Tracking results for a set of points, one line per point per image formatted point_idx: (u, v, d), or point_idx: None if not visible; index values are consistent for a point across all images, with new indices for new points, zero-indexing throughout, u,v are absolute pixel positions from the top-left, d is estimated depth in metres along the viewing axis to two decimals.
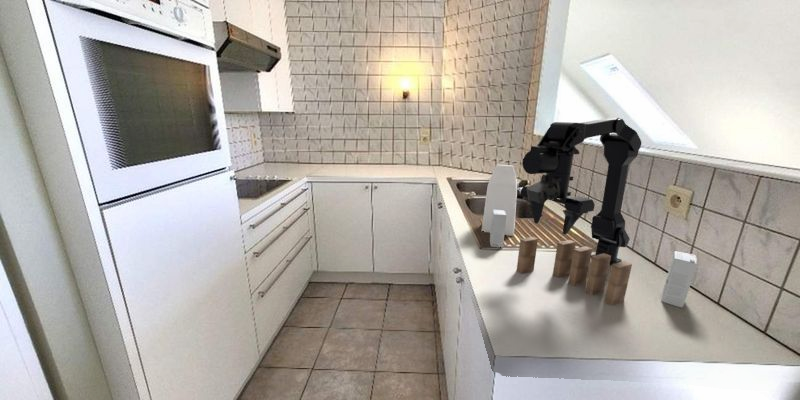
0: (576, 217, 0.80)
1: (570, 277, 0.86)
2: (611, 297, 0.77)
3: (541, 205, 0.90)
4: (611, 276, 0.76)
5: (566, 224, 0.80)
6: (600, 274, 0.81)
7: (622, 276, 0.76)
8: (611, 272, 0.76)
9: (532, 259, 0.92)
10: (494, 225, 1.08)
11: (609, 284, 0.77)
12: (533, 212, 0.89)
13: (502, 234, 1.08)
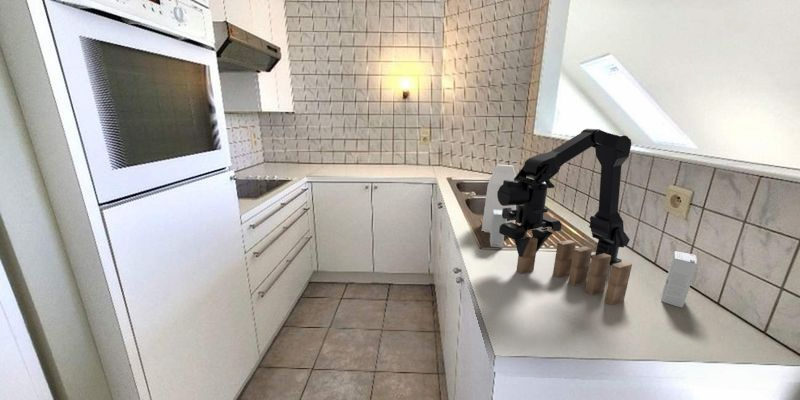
0: (521, 243, 0.88)
1: (570, 277, 0.86)
2: (611, 297, 0.77)
3: (540, 238, 0.91)
4: (611, 276, 0.76)
5: None
6: (600, 274, 0.81)
7: (622, 276, 0.76)
8: (611, 272, 0.76)
9: (532, 259, 0.92)
10: (494, 225, 1.08)
11: (609, 284, 0.77)
12: None
13: (502, 234, 1.08)
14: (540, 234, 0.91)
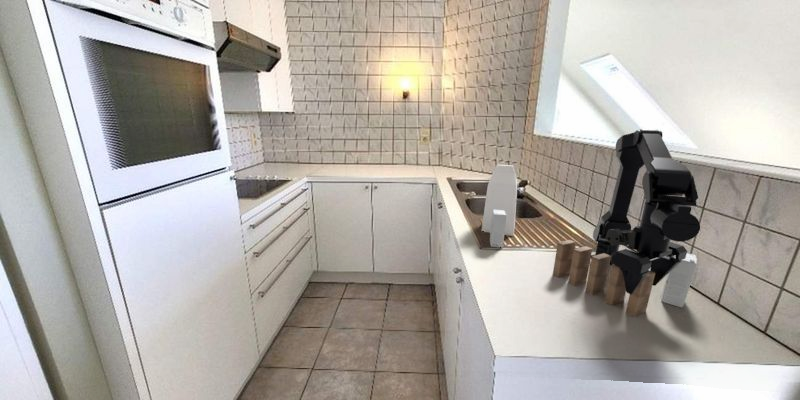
0: (635, 278, 0.68)
1: (570, 277, 0.86)
2: (611, 297, 0.77)
3: (664, 267, 0.72)
4: (611, 276, 0.76)
5: None
6: (600, 274, 0.81)
7: (622, 276, 0.76)
8: (611, 272, 0.76)
9: (646, 298, 0.73)
10: (494, 225, 1.08)
11: (609, 284, 0.77)
12: None
13: (502, 234, 1.08)
14: (664, 262, 0.72)
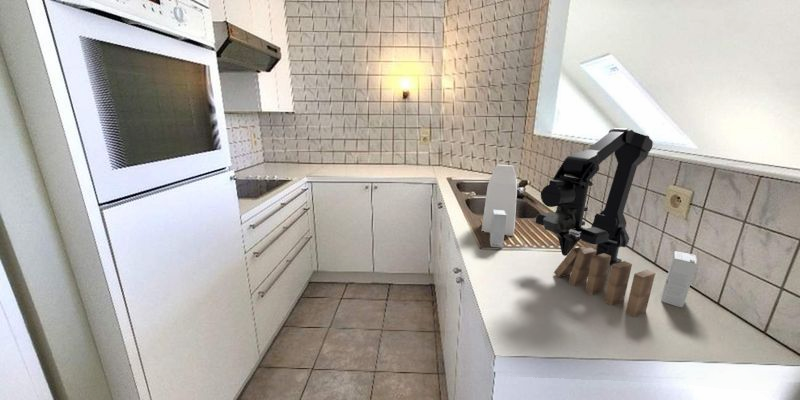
0: (575, 240, 0.88)
1: (571, 277, 0.86)
2: (611, 297, 0.77)
3: None
4: (611, 276, 0.76)
5: (566, 247, 0.88)
6: (600, 274, 0.81)
7: (622, 276, 0.76)
8: (611, 272, 0.76)
9: (646, 298, 0.73)
10: (494, 225, 1.08)
11: (609, 284, 0.77)
12: (561, 244, 0.89)
13: (502, 234, 1.08)
14: (568, 233, 0.89)
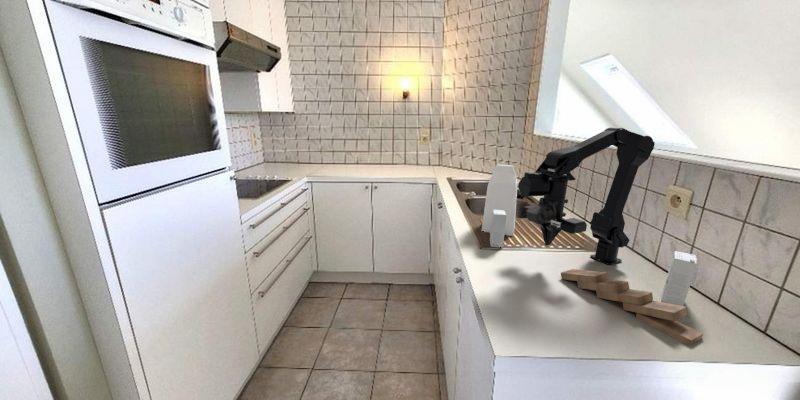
0: (557, 231, 0.93)
1: (583, 284, 0.83)
2: (633, 310, 0.73)
3: None
4: (658, 311, 0.68)
5: (548, 237, 0.94)
6: None
7: None
8: (663, 311, 0.67)
9: None
10: (494, 225, 1.08)
11: (646, 308, 0.70)
12: (544, 235, 0.95)
13: (502, 234, 1.08)
14: (550, 224, 0.95)
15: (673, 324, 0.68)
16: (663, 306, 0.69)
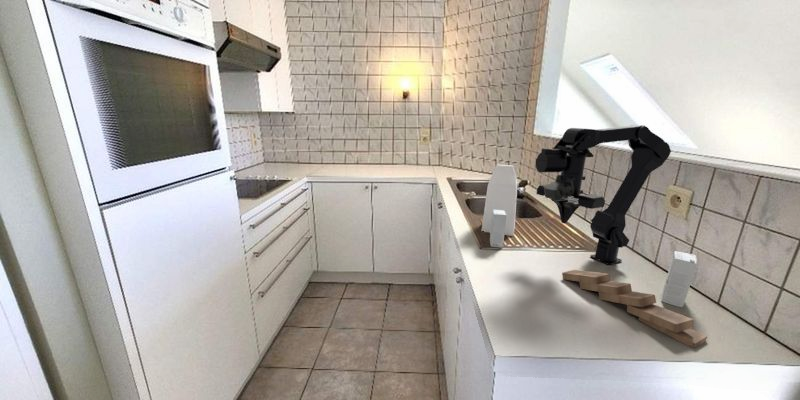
0: (574, 208, 0.94)
1: (585, 284, 0.83)
2: (636, 314, 0.71)
3: None
4: (660, 320, 0.66)
5: (565, 214, 0.94)
6: None
7: None
8: (665, 321, 0.65)
9: None
10: (494, 225, 1.08)
11: (649, 315, 0.68)
12: (560, 212, 0.95)
13: (502, 234, 1.08)
14: (567, 202, 0.95)
15: None
16: (668, 315, 0.67)
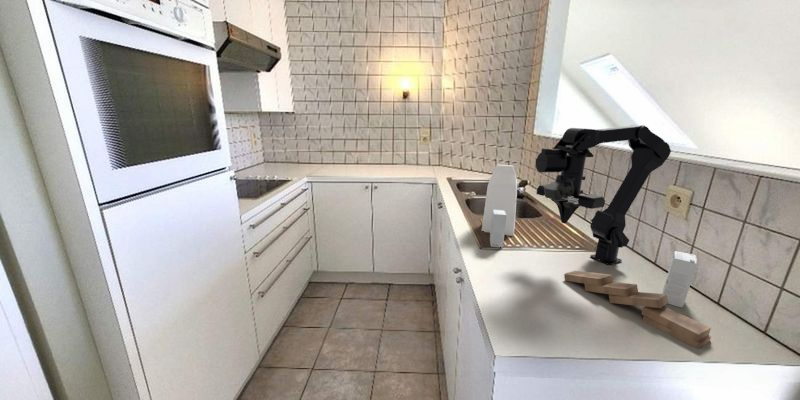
0: (574, 208, 0.94)
1: (591, 286, 0.81)
2: (651, 318, 0.70)
3: None
4: (680, 327, 0.65)
5: (565, 214, 0.94)
6: None
7: None
8: (686, 329, 0.64)
9: None
10: (494, 225, 1.08)
11: (668, 321, 0.67)
12: (560, 212, 0.95)
13: (502, 234, 1.08)
14: (567, 202, 0.95)
15: None
16: (686, 322, 0.66)
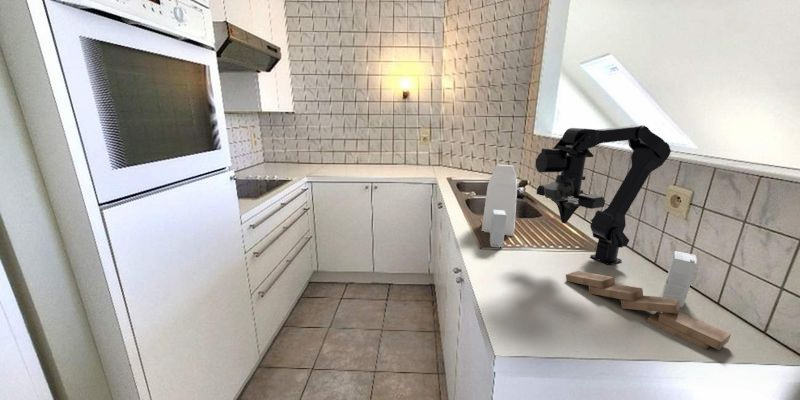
0: (574, 208, 0.94)
1: (595, 289, 0.80)
2: (669, 325, 0.67)
3: None
4: (701, 335, 0.63)
5: (565, 214, 0.94)
6: None
7: None
8: (708, 337, 0.62)
9: None
10: (494, 225, 1.08)
11: (687, 328, 0.65)
12: (560, 212, 0.95)
13: (502, 234, 1.08)
14: (567, 202, 0.95)
15: None
16: (706, 328, 0.64)
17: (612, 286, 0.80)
